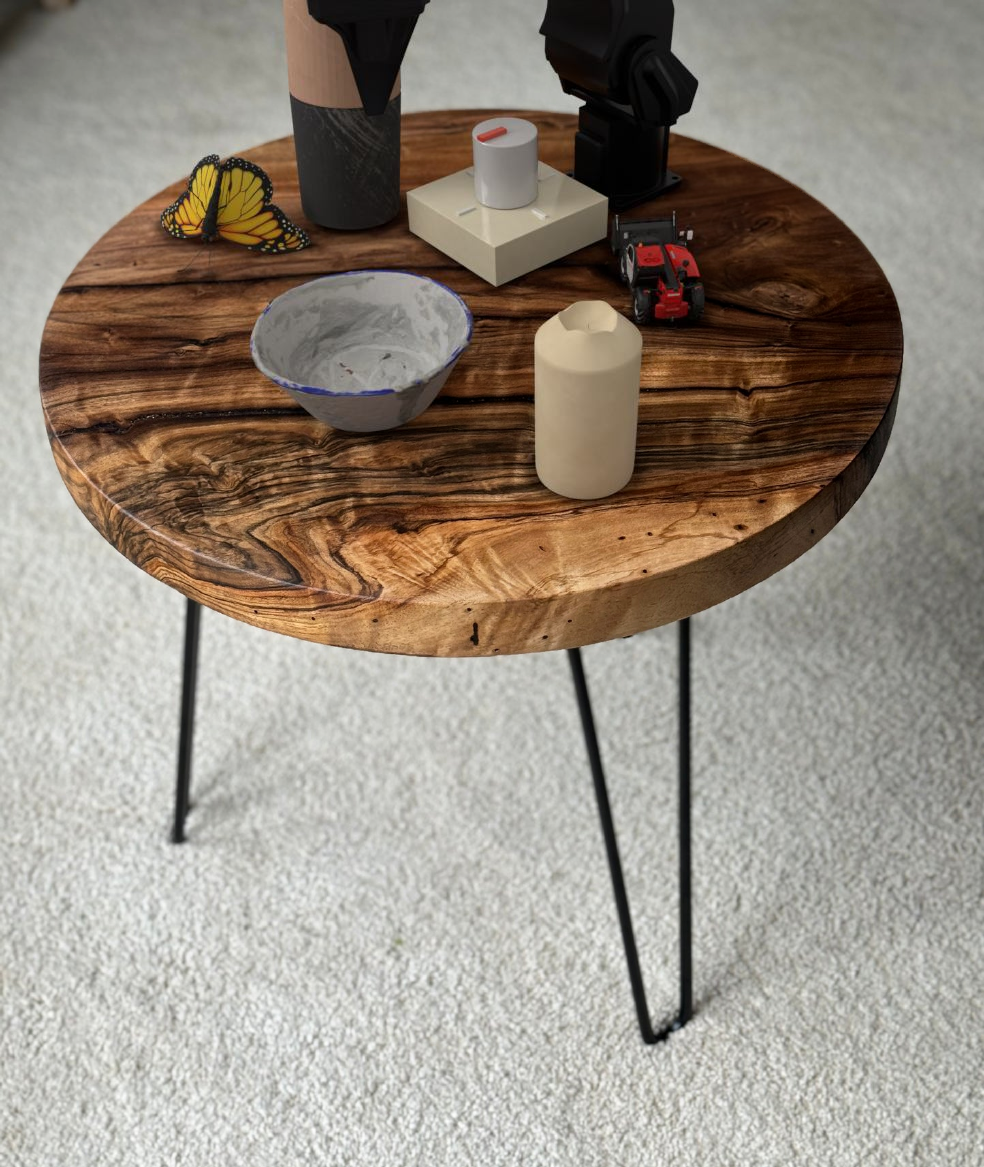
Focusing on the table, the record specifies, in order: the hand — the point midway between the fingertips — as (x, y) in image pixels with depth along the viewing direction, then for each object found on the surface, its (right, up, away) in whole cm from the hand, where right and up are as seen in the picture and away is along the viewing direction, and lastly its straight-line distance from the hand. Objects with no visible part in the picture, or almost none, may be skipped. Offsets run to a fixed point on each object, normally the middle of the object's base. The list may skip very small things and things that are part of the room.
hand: (366, 81), depth 73 cm
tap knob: (+9, -3, +12) cm, 15 cm away
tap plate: (+9, -5, +14) cm, 17 cm away
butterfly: (-12, -4, +10) cm, 16 cm away
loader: (+18, -10, +9) cm, 23 cm away
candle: (+13, -24, -4) cm, 27 cm away
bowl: (0, -18, +2) cm, 18 cm away
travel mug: (-3, -3, +17) cm, 17 cm away
